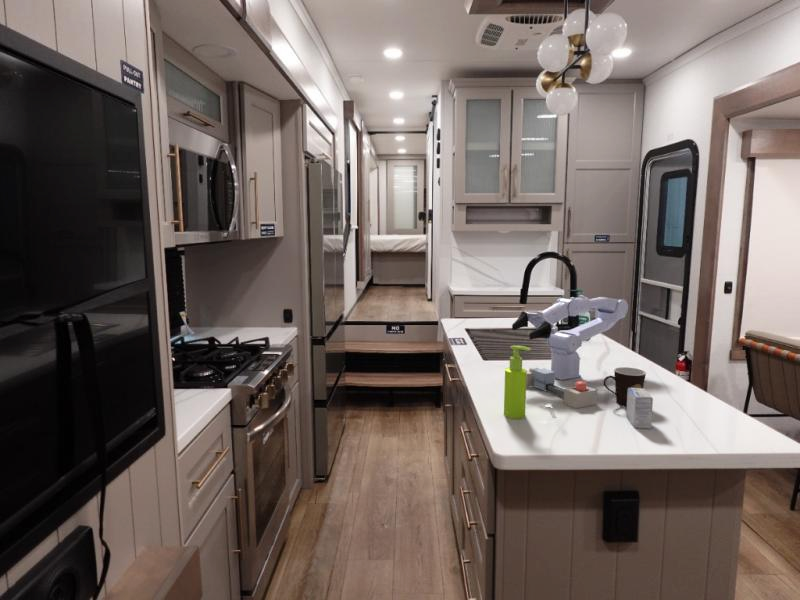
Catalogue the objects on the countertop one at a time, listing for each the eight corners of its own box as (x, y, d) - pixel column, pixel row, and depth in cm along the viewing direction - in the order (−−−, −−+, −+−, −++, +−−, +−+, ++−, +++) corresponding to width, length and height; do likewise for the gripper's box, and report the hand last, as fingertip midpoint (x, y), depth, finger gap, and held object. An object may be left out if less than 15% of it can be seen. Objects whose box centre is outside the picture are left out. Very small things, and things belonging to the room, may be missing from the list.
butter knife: (552, 403, 150) (542, 403, 150) (571, 437, 126) (559, 436, 126) (552, 405, 150) (542, 404, 150) (571, 438, 126) (559, 438, 126)
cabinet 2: (583, 399, 154) (584, 385, 153) (596, 404, 149) (597, 389, 148) (563, 403, 150) (564, 388, 150) (576, 408, 146) (576, 393, 145)
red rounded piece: (580, 391, 151) (581, 380, 151) (588, 394, 149) (588, 383, 148) (573, 393, 150) (573, 382, 149) (580, 396, 147) (581, 384, 147)
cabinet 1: (539, 381, 172) (540, 365, 171) (545, 383, 169) (546, 368, 168) (521, 384, 168) (521, 368, 167) (527, 387, 165) (527, 371, 165)
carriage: (543, 384, 167) (544, 368, 166) (554, 388, 163) (554, 372, 162) (533, 386, 165) (533, 369, 164) (543, 390, 161) (544, 373, 160)
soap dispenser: (524, 420, 137) (527, 349, 134) (500, 416, 140) (502, 346, 137) (531, 414, 142) (533, 345, 139) (508, 409, 145) (509, 342, 142)
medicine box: (651, 429, 131) (653, 397, 129) (633, 428, 131) (635, 396, 130) (642, 418, 138) (644, 388, 137) (625, 417, 139) (627, 387, 138)
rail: (538, 385, 168) (539, 379, 167) (576, 400, 152) (576, 394, 152) (534, 385, 167) (534, 380, 166) (571, 401, 152) (571, 395, 151)
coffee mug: (641, 400, 152) (643, 368, 151) (645, 410, 144) (647, 376, 143) (600, 396, 156) (602, 365, 155) (602, 405, 148) (604, 373, 147)
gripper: (533, 299, 174) (505, 313, 168) (567, 314, 163) (538, 330, 157) (533, 316, 177) (505, 331, 171) (566, 332, 167) (538, 348, 160)
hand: (521, 331), depth 164 cm, fingers open, 7 cm apart
